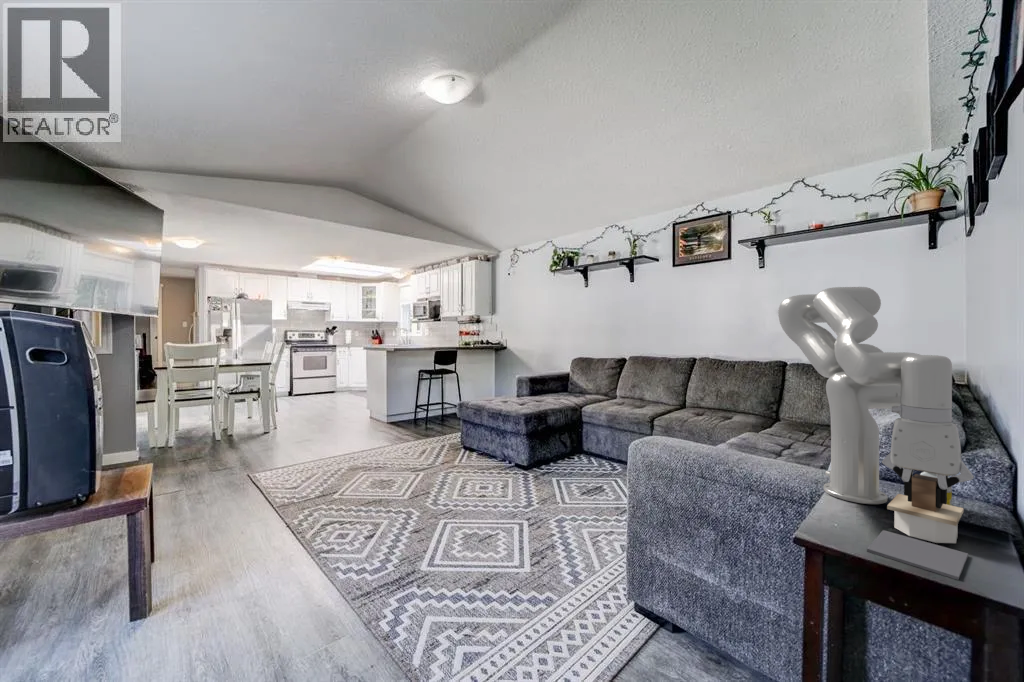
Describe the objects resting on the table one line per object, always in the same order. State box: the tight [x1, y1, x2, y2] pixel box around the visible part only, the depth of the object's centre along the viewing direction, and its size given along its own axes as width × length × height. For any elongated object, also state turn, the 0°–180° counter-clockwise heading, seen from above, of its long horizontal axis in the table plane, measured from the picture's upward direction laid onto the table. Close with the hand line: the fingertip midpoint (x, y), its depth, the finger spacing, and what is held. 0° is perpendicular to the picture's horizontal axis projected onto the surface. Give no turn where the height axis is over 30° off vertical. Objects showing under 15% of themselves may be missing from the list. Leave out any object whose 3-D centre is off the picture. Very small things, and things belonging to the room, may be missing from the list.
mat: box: [866, 529, 969, 581], centre depth 79 cm, size 12×12×1 cm
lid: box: [886, 473, 965, 526], centre depth 87 cm, size 10×10×7 cm
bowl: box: [893, 511, 959, 544], centre depth 87 cm, size 9×9×4 cm
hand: (925, 502), depth 87 cm, fingers closed on lid, 3 cm apart
